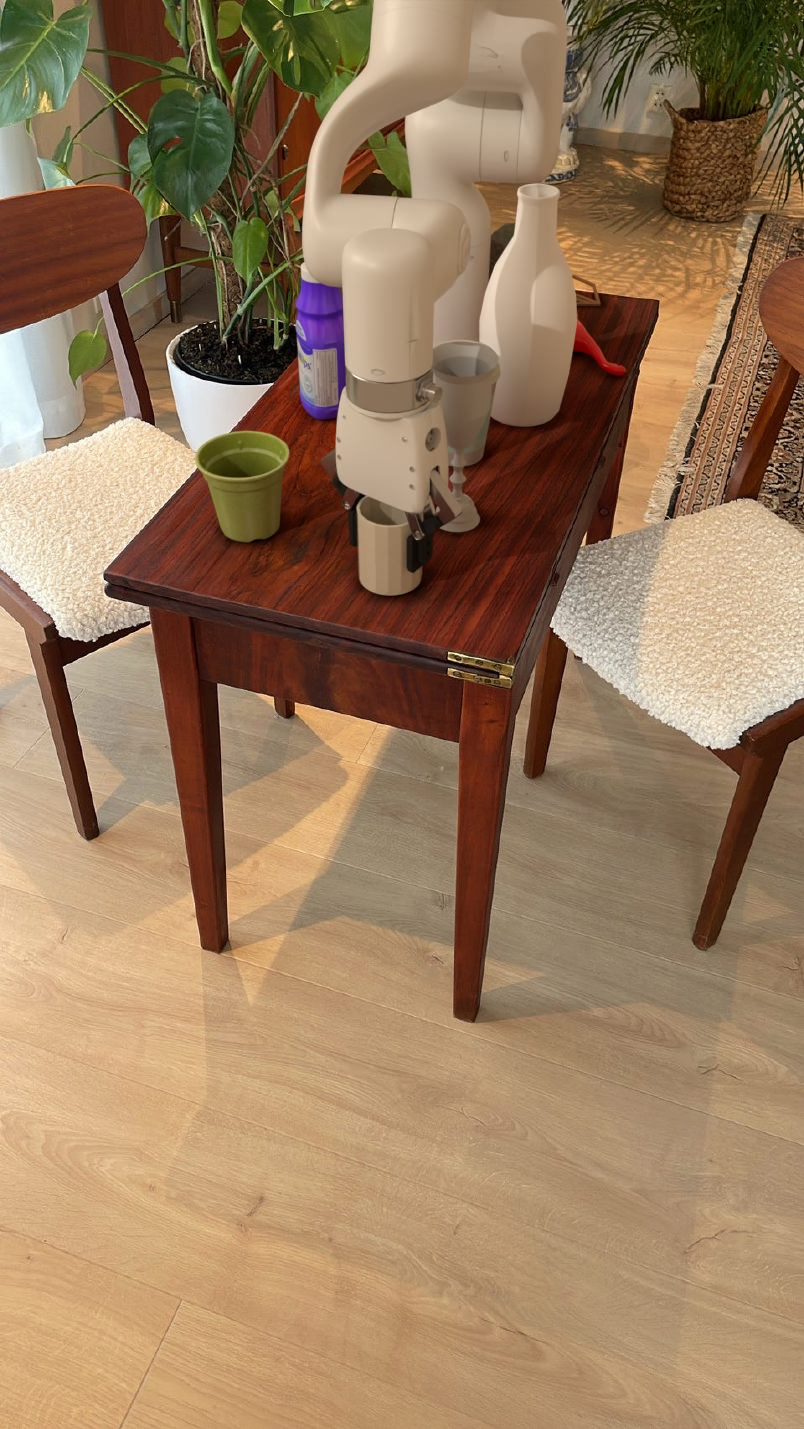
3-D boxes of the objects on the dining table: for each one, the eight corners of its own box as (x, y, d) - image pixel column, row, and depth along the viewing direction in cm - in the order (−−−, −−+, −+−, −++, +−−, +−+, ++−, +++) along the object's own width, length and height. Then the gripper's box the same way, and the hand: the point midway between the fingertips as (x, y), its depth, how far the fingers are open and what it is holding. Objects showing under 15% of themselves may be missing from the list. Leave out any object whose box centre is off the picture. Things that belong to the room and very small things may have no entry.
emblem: (511, 290, 164) (511, 285, 164) (557, 270, 170) (557, 266, 169) (577, 317, 158) (577, 312, 158) (622, 295, 163) (623, 290, 163)
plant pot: (187, 540, 119) (176, 466, 114) (233, 494, 126) (225, 422, 120) (267, 562, 117) (260, 487, 111) (310, 514, 123) (305, 441, 117)
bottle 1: (294, 399, 141) (284, 256, 129) (338, 391, 143) (333, 249, 131) (312, 427, 136) (304, 281, 124) (357, 418, 138) (354, 274, 126)
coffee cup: (443, 427, 136) (446, 330, 128) (508, 447, 133) (515, 349, 125) (406, 460, 131) (406, 361, 123) (472, 481, 128) (478, 381, 120)
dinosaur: (508, 296, 151) (512, 342, 142) (619, 313, 152) (631, 360, 144) (501, 324, 154) (506, 371, 145) (611, 341, 155) (622, 388, 146)
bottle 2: (584, 404, 140) (611, 186, 123) (536, 442, 134) (556, 218, 116) (507, 378, 145) (522, 165, 128) (457, 414, 139) (465, 194, 121)
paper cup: (384, 550, 118) (383, 482, 112) (434, 572, 115) (435, 504, 109) (346, 580, 114) (343, 511, 108) (396, 603, 111) (396, 534, 106)
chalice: (482, 541, 119) (492, 380, 107) (418, 534, 120) (420, 373, 108) (492, 503, 125) (503, 345, 112) (430, 496, 126) (434, 338, 113)
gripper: (496, 394, 98) (485, 565, 111) (338, 339, 106) (344, 505, 118) (446, 431, 94) (440, 605, 107) (284, 370, 102) (297, 539, 114)
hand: (390, 551), depth 112 cm, fingers closed on paper cup, 6 cm apart
